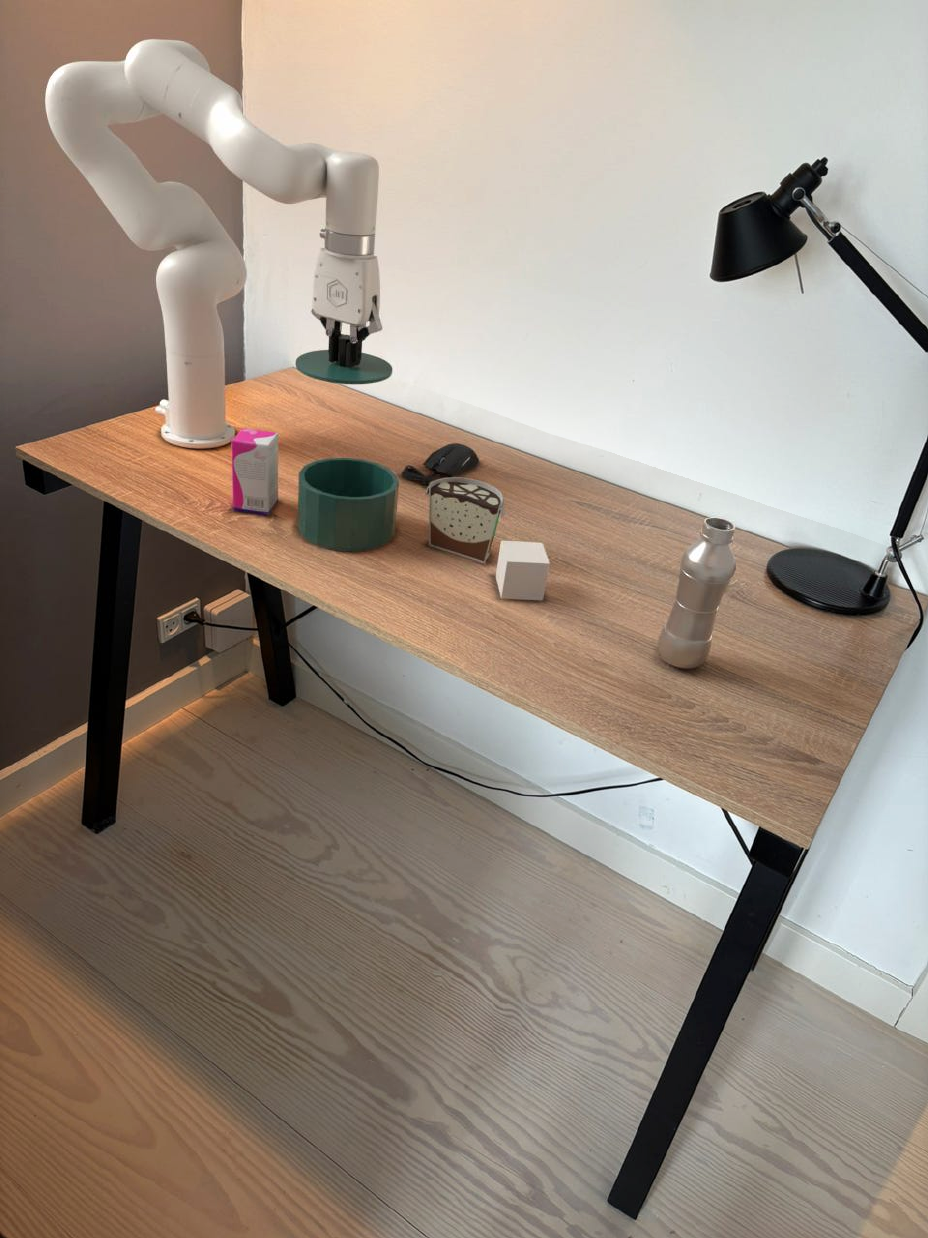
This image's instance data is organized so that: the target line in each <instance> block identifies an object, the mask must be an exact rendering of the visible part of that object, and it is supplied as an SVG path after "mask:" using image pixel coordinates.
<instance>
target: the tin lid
mask: <svg viewBox="0 0 928 1238" xmlns="http://www.w3.org/2000/svg"><path fill="white" fill-rule="evenodd" d="M348 342H350V334H344V335H338V336H337V361H336V362H333V363H332V362H329V353H328V349H319V350H312V351H307V352H305V353H303V354H300V355H299V356H297V358H296V359H295V368H296V369H297V371H298V372H300V373H301V374H303V375H305V376H306V377H309V378H312V379H314V380H318V381H321V382H326V383H333V384H341V385H370V384H376V383H381V382H384V381H386V380H388V379H389V378H390V377H392V375H393V366H392V365H391V363H390V362H388V361H387V360H386V359H383V358H382V357H379V356H376V355H374V354H370V353H365V352H362V356H361V361H360V364H359V365H356V366H354V367H351V368H349V367H347V366H346V349H347V343H348Z"/></svg>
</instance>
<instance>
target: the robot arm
mask: <svg viewBox="0 0 928 1238" xmlns="http://www.w3.org/2000/svg"><path fill="white" fill-rule="evenodd" d="M44 97H45V100H44V101H45V102H44V103H45V112H46V116H47V122H48V125H49V128H50V130H51V132H52V134H53V136H54V139H55V140H56V142H57V143H58V145H59V147H60V148H61V149H62V151H63V152H64V154H65V155H66V157H68V159H69V160H70V161H71V162H72V163H73V165H74V166H75V167H76V168H77V169H78V171H79V172H80V173H81V174H82V176H83V177H84V178H85V179H86V180H87V182H88V184H89V185H90V186H91V187H92V188H93V190H94V191H95V193H96V195H97V196H98V198H99V199H100V200H101V202H102V203H103V204H104V206H105V207H106V208H107V210H108V211H109V212H110V214H111V216H112V217H113V218H114V219H115V221H116V222H117V224H118V225H119V226H120V228H121V229H122V231H124V233H125V234H126V235H127V237H128V238H129V240H130V241H131V242H132V243H133V244H134V245H135V246H137V247H138V248H140V249H141V250H144V251H149V252H155V251H161V250H165V249H169V248H172V247H174V248H175V249H176V250H174V251H172V252H171V253H169V254H167V255H166V256H165V257H164V258H163V259H162V260H161V262H160V263H159V265H158V267H157V271H156V275H155V276H156V277H155V286H156V291H157V296H158V301H159V305H160V308H161V314H162V320H163V329H164V342H165V355H166V356H165V357H166V371H167V372H166V375H167V391H168V393H167V395H168V399H161V400H160V402H159V405H158V406H156V407H155V409H154V410H155V414H157V415H160V416H164V418H165V423H163V424H162V425H161V428H160V433H161V438H162V439H164V440H165V441H166V442H167V443H169V444H172V445H174V446H178V447H181V448H187V449H212V448H218V447H222V446H225V445H228V444H230V443H231V441H232V439H233V438H234V437H235V436H236V430H235V427H234V426H233V425H232V424H230V422H227V411H226V410H227V408H226V364H225V363H226V362H225V361H226V360H225V336H224V329H223V325H222V321H221V319H220V316H219V315H220V314H219V312H218V308H217V305H218V304H219V303H222V302H224V301H226V300H229V299H231V298H233V297H235V296H236V295H238V294H239V293H241V291H242V290H243V289H244V287H245V285H246V282H247V277H248V273H247V272H248V271H247V266H246V262H245V259H244V257H243V255H242V253H241V251H240V249H239V248H238V246H237V245H236V243H235V242H234V240H233V239H232V238H231V236H230V235H229V234H228V232H227V230H226V229H225V228H224V226H223V225H222V223H221V222H220V221H219V219H218V218H217V216H216V215H215V213H214V212H213V211H212V208H210V206H209V205H208V204H207V202H206V201H205V200H204V198H203V197H202V196H201V195H200V194H199V193H198V192H197V191H196V190H194V189H193V188H192V187H190V186H189V185H187V184H185V183H182V182H180V181H179V182H178V181H164V182H158V181H157V180H156V179H154V178H153V176H152V175H151V174H150V173H149V172H148V170H147V168H145V166H144V165H143V163H142V162H141V160H140V159H139V157H138V156H137V154H136V153H135V152H134V151H133V150H132V149H131V148H130V147H129V146H128V145H127V144H126V143H125V142H124V141H122V139H120V137H118V136H117V135H116V134H115V133H113V132H112V130H111V129H110V128H109V126H111V125H121V124H123V125H124V124H131V123H137V122H142V121H145V120H149V119H151V118H155V117H159V116H161V115H164V116H166V117H168V118H169V119H171V120H172V121H174V122H176V123H177V124H178V125H180V126H181V127H183V128H184V129H186V130H187V131H189V132H190V133H192V134H193V135H194V136H196V137H198V138H199V139H201V140H202V141H204V142H205V143H206V144H208V145H209V146H210V147H211V149H212V151H213V153H214V154H215V155H216V157H217V158H218V159H219V160H220V161H221V163H222V164H223V165H224V166H225V168H226V169H227V170H229V171H230V172H231V173H232V174H233V175H234V176H235V177H237V178H238V179H240V180H241V181H242V182H244V183H245V184H247V185H248V186H250V187H251V188H253V189H255V190H256V191H258V192H259V193H261V194H262V195H264V196H266V197H267V198H269V199H271V200H273V201H275V202H278V203H279V204H280V203H281V204H283V205H295V204H300V203H302V202H307V201H311V200H312V201H313V200H317V199H325V227H324V228H321V229H320V231H319V238H321V239H323V240H324V247H321V248H319V252H318V255H317V259H316V265H315V270H314V277H313V285H312V298H311V301H312V303H311V304H312V306H311V307H312V308H311V310H310V311H311V314H312V316H314V317H315V319H317V320H318V321H320V324H321V325H322V327H323V328H324V330H325V335H326V337H328V349H327V350H328V353H329V362H332V363H333V362H336V361H337V336H338V335H345V334H344V333H342V331H343V324H347V325H349V335H350V342H348V343H347V349H346V366H347V367H349V368H351V367H354V366H356V365H359V364H360V361H361V356H362V353H363V350H362V349H363V342H364V341H366V339H367V338H368V337H369V336H370V335H372V334H375V333H378V332H381V331H382V330H383V325H382V321H381V318H380V306H381V279H380V267H379V260H378V256H377V255H375V247H376V231H377V230H376V229H377V212H378V197H379V196H378V195H379V177H380V167H379V166H380V165H379V162H378V159H376V157H374V156H372V155H371V154H366V153H363V152H355V151H354V152H353V151H342V150H341V151H340V150H337V149H333V148H331V147H328V146H325V145H322V144H319V143H315V142H314V143H313V142H305V143H304V142H303V143H297V144H287V145H285V144H284V143H281V142H280V141H278V140H276V139H275V138H273V137H272V136H270V135H269V134H267V133H266V132H264V131H263V130H262V129H260V128H259V127H258V126H256V125H254V123H253V122H251V121H250V120H249V119H248V118H247V117H246V116H245V115H244V113H243V99H242V97H241V94H240V93H239V91H238V90H236V88H234V87H232V86H231V85H229V84H228V83H226V82H225V81H223V80H222V79H220V78H219V77H218V76H216V75H214V74H213V73H211V68H210V65H209V63H208V61H207V59H206V57H205V56H204V55H203V53H202V52H201V51H200V50H199V49H198V48H197V47H195V46H194V45H193V44H191V43H188V42H186V41H182V40H177V39H161V38H160V39H159V38H158V39H157V38H149V39H143V40H141V41H139V42H137V43H136V44H134V45H133V46H132V47H131V48H130V49H129V51H128V53H127V54H126V57H125V60H121V61H120V60H119V61H98V60H94V61H93V60H86V61H85V60H84V61H82V60H81V61H73V62H70V63H66V64H64V65H61V66H60V67H58V68H57V69H56V70H55V71H54V72H53V73H52V75H51V76H50V77H49V79H48V82H47V85H46V89H45V96H44ZM368 322H369V325H368V326H367V323H368Z"/></svg>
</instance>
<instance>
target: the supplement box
mask: <svg viewBox="0 0 928 1238" xmlns="http://www.w3.org/2000/svg"><path fill="white" fill-rule="evenodd" d="M230 443H231V444H230V445H231V448H230V449H231V477H232V478H231V483H232V484H231V485H232V486H231V487H232V489H231V491H232V492H231V493H232V511H235V512H241V513H248V514H257V515H262V516H269V515H270V514H271V513H272V511H273V509H274V508H275V507H276V505H277V504H278V502H279V432H273V431H266V430H258V429H252V428H244V427H243V428H242V429H240V431H239V432H238V433H237V434H235V437H234V438H233V439H232V441H231V442H230Z"/></svg>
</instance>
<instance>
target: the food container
mask: <svg viewBox="0 0 928 1238" xmlns="http://www.w3.org/2000/svg"><path fill="white" fill-rule="evenodd" d="M437 479H438V478H437ZM424 495H425V496H428V546H429V547H432V548H435V549H438V550H441V551H445V552H448V553H450V554H454V555H456V556H460V557H463V558H465V559H468V560H472V561H474V562H477V563H478V562H479V563H482V564H484V565H485V564H487V562H488V561H489V557H490V553H491V549H492V545H493V542H494V537H495V534H496V530H497V526H498V523H499V519H503V518H504V517H505V513H506V508H505V507H506V506H505V500H504V495H503V494H502V493H501V491H500V490H499V489H498V488H496V487H495V486H493V485H492V484H489V483H487V482H484V481H482V480H477V479H474V478H468V477H457V476H454V477H443V478H439V479H438V480H435V481H432V482H431V483H430V484H429V486H426V491H425V494H424Z"/></svg>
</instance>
